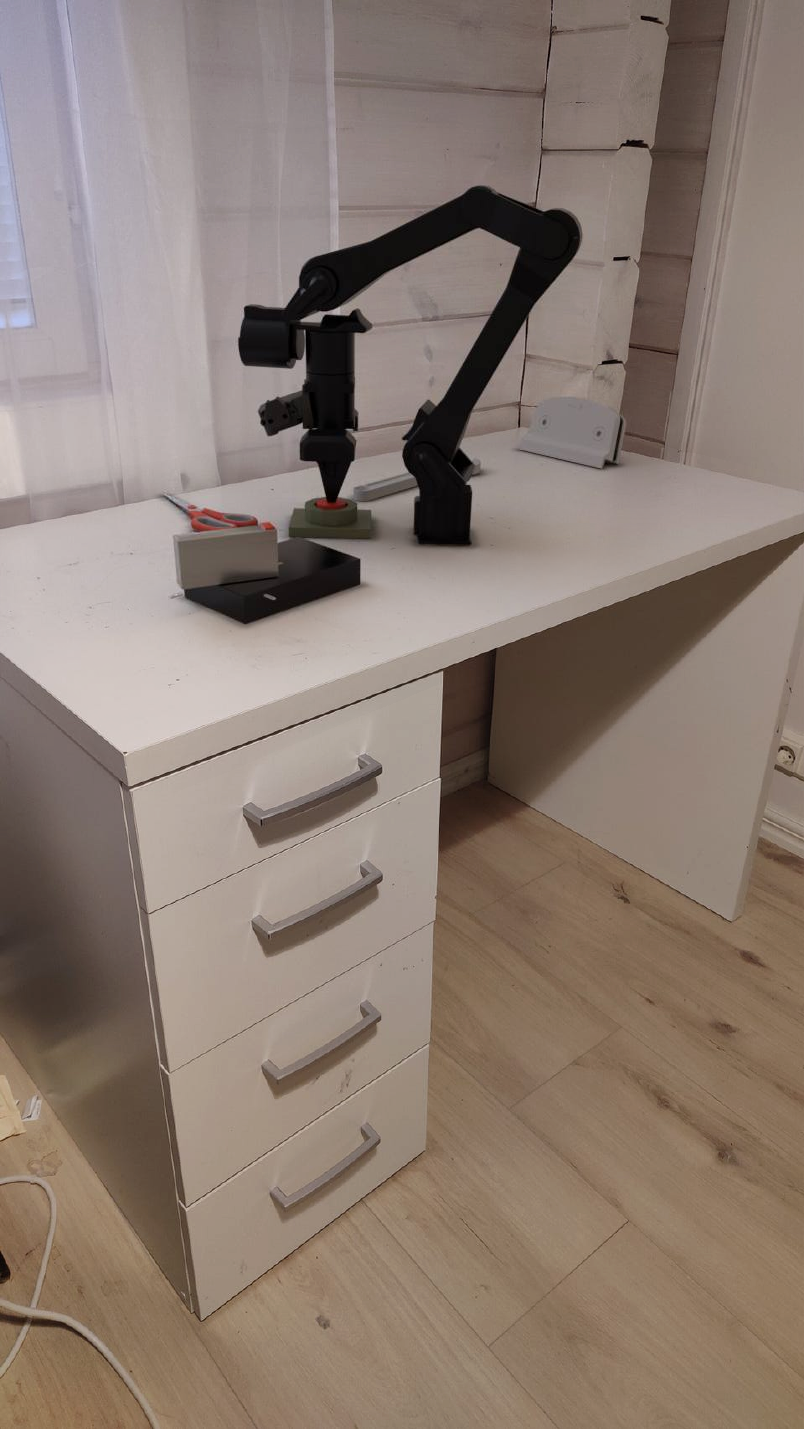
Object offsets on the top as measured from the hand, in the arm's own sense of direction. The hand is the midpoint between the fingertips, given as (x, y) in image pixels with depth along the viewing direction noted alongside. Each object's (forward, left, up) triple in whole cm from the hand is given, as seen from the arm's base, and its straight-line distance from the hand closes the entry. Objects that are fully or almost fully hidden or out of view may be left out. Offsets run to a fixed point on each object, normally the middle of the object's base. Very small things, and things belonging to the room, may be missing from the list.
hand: (331, 501), depth 125 cm
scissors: (+18, -3, -4) cm, 19 cm away
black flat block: (+6, +24, -3) cm, 25 cm away
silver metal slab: (+9, +27, 0) cm, 28 cm away
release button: (0, 0, -2) cm, 2 cm away
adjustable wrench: (-11, -22, -4) cm, 25 cm away
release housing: (0, 0, -3) cm, 3 cm away
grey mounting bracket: (-37, -40, -4) cm, 55 cm away
